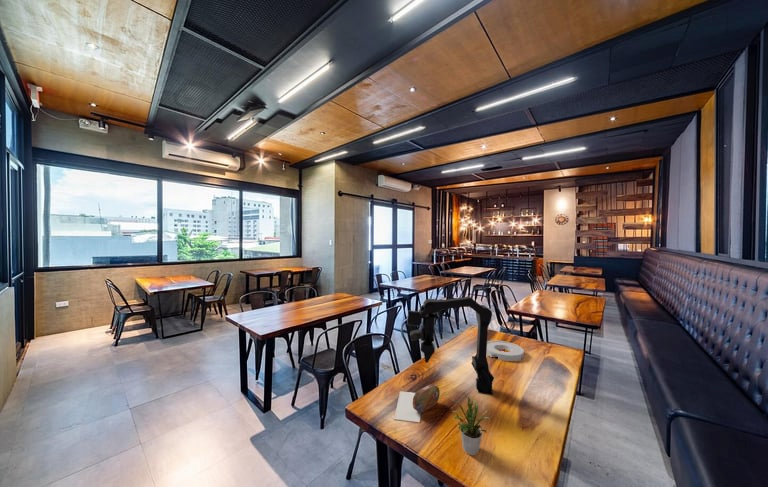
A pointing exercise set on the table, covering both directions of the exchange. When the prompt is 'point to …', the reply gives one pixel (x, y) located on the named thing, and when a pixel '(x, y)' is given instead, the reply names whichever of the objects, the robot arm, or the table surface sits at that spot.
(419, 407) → the tin
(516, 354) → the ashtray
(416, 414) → the mat
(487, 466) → the table surface
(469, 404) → the house plant
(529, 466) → the table surface
